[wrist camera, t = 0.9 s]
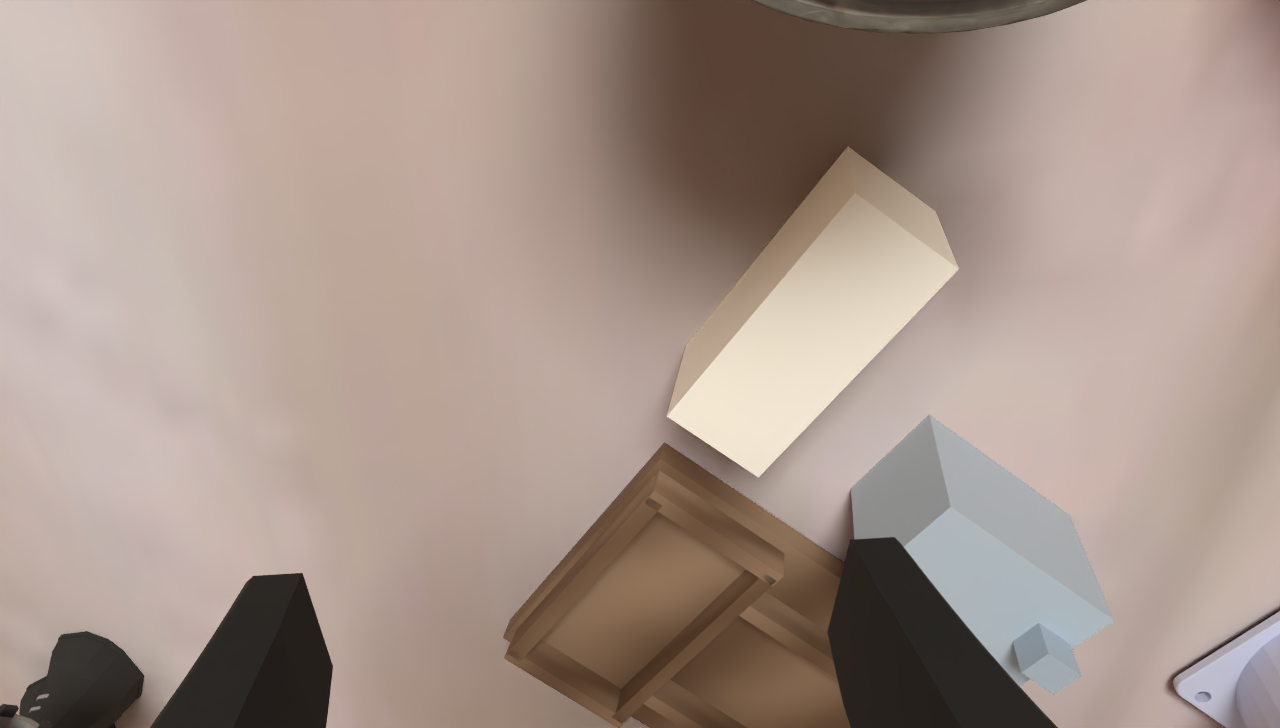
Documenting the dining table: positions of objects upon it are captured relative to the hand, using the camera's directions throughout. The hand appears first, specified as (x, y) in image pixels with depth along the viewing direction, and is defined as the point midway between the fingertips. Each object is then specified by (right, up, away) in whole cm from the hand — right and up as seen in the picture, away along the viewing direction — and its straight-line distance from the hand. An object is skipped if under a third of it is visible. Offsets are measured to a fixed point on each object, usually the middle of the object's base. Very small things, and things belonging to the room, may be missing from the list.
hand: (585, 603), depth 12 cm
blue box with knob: (+11, -1, +18) cm, 21 cm away
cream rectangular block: (+6, +6, +15) cm, 17 cm away
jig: (+4, -7, +22) cm, 24 cm away
